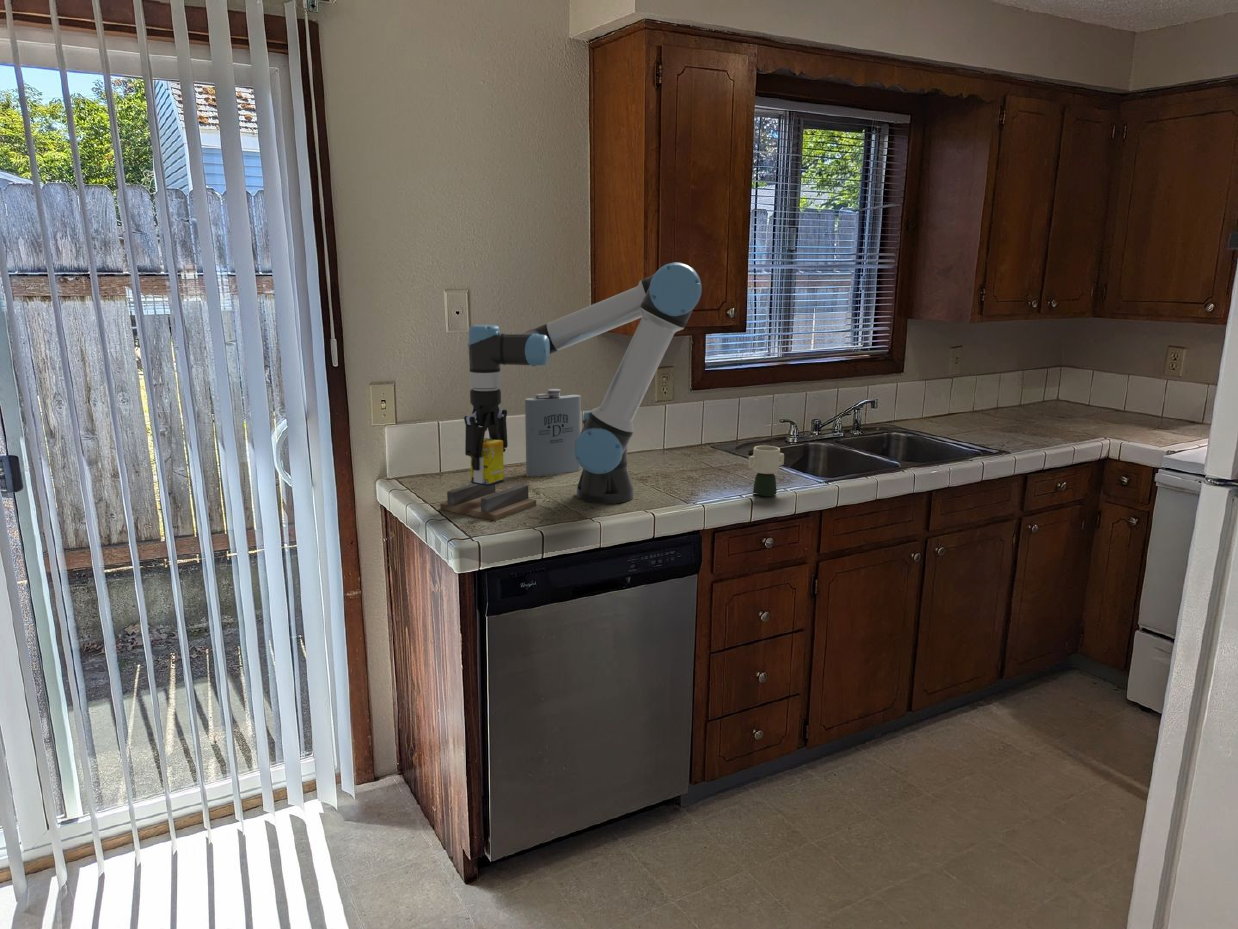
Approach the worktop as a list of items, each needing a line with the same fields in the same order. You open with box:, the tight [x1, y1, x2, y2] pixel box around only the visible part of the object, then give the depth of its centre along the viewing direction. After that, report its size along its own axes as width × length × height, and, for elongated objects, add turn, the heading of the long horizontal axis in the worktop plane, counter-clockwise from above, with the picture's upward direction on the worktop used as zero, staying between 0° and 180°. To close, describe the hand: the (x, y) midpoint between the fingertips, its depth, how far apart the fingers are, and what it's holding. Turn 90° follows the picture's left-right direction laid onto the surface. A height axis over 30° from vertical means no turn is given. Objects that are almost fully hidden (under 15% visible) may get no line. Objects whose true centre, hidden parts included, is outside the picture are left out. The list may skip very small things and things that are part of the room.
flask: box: [524, 388, 582, 477], centre depth 252 cm, size 17×5×25 cm, turn 121°
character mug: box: [748, 445, 785, 497], centre depth 230 cm, size 11×7×13 cm, turn 112°
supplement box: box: [470, 437, 505, 487], centre depth 216 cm, size 6×6×11 cm
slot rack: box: [439, 483, 537, 522], centre depth 218 cm, size 18×16×5 cm
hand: (487, 479), depth 217 cm, fingers closed on supplement box, 6 cm apart
